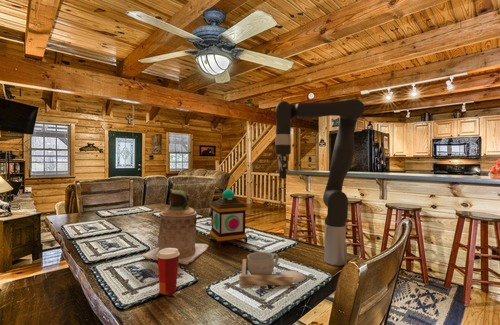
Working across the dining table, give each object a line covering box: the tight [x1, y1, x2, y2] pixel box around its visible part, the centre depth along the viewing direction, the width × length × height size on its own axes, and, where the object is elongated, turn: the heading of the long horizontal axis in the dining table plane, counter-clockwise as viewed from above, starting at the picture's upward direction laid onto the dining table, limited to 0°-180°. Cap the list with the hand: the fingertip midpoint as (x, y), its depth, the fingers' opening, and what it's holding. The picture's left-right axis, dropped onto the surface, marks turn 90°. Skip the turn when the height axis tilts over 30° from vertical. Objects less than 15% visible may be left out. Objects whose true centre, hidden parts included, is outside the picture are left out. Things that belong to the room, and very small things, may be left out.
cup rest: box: [238, 258, 294, 286], centre depth 103 cm, size 20×17×3 cm
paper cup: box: [156, 248, 180, 296], centre depth 89 cm, size 8×8×14 cm
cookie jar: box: [141, 188, 209, 265], centre depth 125 cm, size 25×25×32 cm
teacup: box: [246, 251, 280, 275], centre depth 103 cm, size 14×11×8 cm
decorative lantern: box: [208, 188, 248, 248], centre depth 145 cm, size 20×20×30 cm
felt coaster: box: [279, 270, 306, 284], centre depth 101 cm, size 10×10×1 cm
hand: (282, 178), depth 121 cm, fingers open, 8 cm apart
